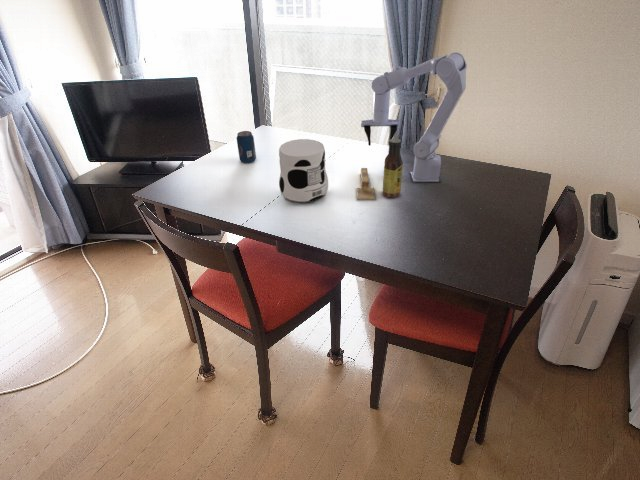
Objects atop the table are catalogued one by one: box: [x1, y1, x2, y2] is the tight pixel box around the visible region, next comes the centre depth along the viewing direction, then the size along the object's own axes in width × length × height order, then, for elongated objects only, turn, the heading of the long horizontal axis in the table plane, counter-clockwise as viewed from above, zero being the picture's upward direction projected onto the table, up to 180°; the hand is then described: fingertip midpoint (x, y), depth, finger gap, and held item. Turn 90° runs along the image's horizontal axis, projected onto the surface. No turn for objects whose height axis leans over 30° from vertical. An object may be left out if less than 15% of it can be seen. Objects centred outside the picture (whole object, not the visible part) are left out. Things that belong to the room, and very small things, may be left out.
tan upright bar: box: [356, 167, 376, 201], centre depth 153 cm, size 20×6×3 cm, turn 177°
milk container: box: [278, 138, 329, 204], centre depth 145 cm, size 17×17×18 cm
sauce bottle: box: [382, 138, 404, 199], centre depth 143 cm, size 6×6×20 cm
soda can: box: [236, 130, 257, 165], centre depth 173 cm, size 7×7×12 cm
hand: (379, 144), depth 162 cm, fingers open, 7 cm apart
